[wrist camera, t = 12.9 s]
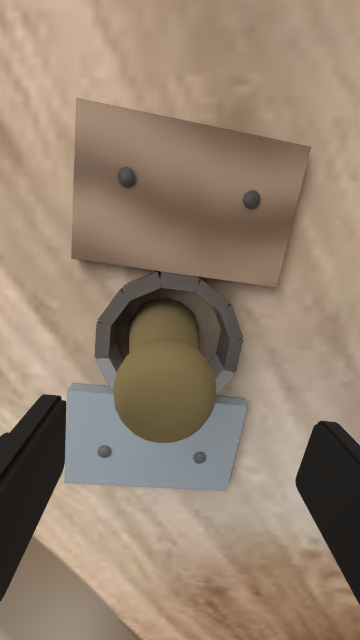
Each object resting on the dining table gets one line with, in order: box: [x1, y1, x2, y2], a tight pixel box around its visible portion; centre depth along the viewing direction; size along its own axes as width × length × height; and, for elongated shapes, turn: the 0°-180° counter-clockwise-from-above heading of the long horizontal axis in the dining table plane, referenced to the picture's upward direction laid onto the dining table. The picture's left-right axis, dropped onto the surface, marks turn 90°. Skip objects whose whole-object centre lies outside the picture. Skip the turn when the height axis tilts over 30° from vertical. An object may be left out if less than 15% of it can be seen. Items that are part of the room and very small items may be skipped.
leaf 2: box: [64, 343, 247, 491], centre depth 22 cm, size 14×16×3 cm
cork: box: [113, 298, 216, 443], centre depth 16 cm, size 6×6×11 cm
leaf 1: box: [71, 98, 311, 372], centre depth 18 cm, size 17×16×3 cm
